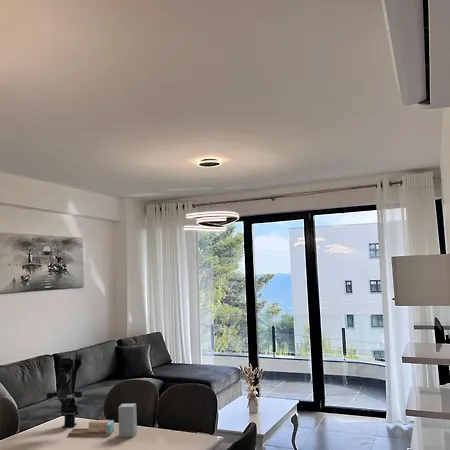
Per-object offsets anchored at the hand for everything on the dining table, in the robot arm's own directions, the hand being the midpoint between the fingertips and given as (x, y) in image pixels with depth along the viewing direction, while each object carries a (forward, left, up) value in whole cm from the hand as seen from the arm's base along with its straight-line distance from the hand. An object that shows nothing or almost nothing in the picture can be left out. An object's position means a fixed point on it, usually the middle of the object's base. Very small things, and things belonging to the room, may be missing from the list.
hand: (64, 410), depth 251 cm
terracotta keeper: (+2, +22, -11) cm, 24 cm away
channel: (+2, +15, -12) cm, 19 cm away
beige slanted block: (+2, +16, -11) cm, 20 cm away
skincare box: (+6, +35, -12) cm, 37 cm away
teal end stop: (+2, +25, -11) cm, 27 cm away
